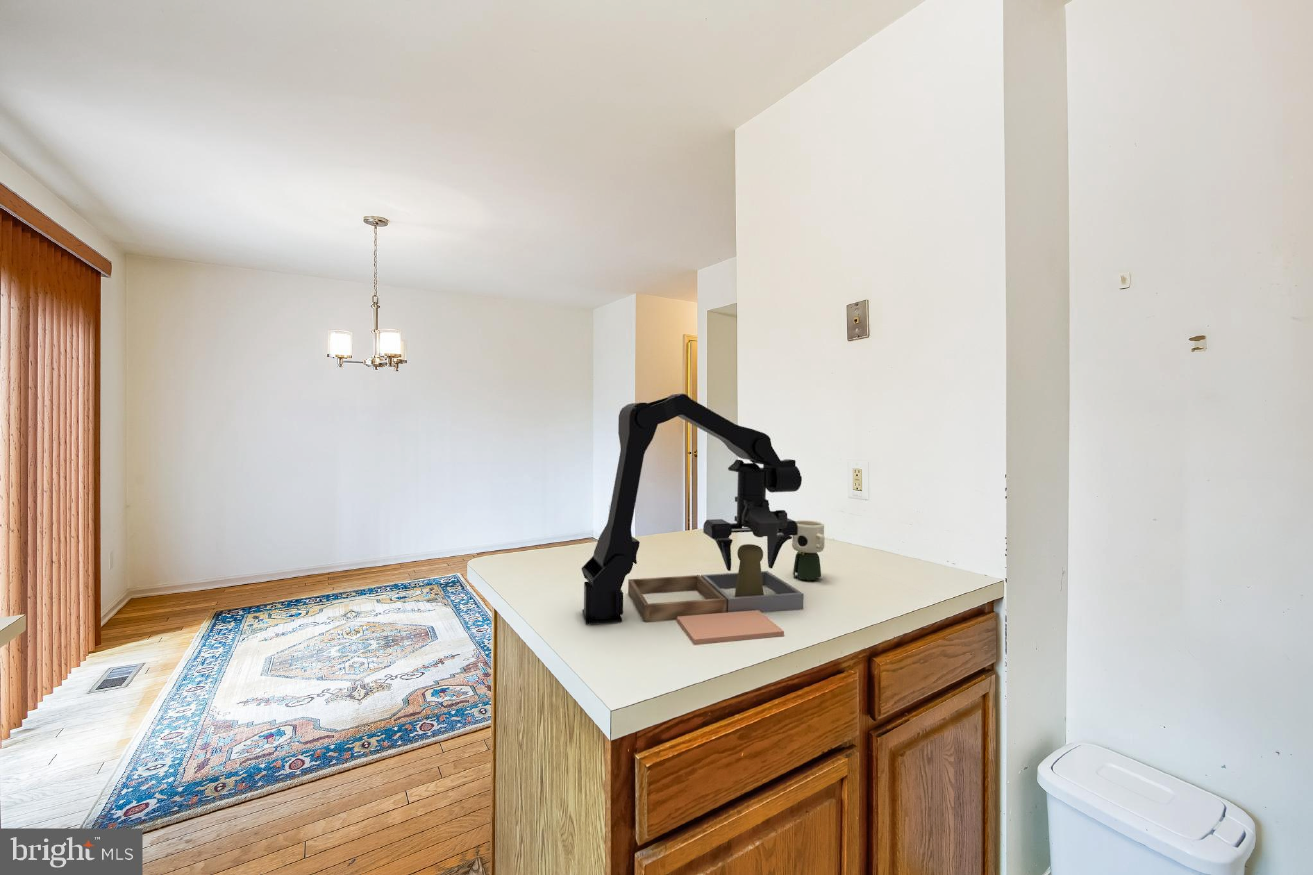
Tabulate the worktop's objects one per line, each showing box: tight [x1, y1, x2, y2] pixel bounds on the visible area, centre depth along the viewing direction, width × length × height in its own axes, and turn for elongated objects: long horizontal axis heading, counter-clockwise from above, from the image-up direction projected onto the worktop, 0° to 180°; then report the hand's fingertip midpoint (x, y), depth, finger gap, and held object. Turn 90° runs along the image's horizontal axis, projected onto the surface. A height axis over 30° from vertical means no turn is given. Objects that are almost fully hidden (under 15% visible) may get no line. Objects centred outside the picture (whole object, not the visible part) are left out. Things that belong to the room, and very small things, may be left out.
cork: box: [734, 543, 765, 597], centre depth 106 cm, size 6×6×11 cm
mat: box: [676, 610, 785, 645], centre depth 90 cm, size 16×10×1 cm, turn 104°
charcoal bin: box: [700, 570, 805, 613], centre depth 106 cm, size 16×16×3 cm
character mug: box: [791, 519, 826, 581], centre depth 120 cm, size 11×7×13 cm, turn 22°
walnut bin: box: [627, 574, 726, 623], centre depth 102 cm, size 16×16×3 cm
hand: (749, 569), depth 106 cm, fingers open, 9 cm apart
